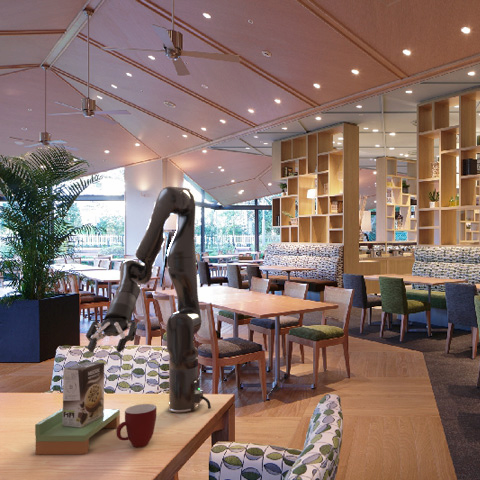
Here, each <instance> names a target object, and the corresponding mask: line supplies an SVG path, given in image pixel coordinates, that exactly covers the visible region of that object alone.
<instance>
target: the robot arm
mask: <svg viewBox="0 0 480 480" xmlns="http://www.w3.org/2000/svg"><path fill="white" fill-rule="evenodd" d="M158 193H159V194H158V195H157V198H156V200H155V204H154V207H153V209H152V213H151V216H150V219H149V223H148V226H147V228H146V231H145V233H144V235H143V237H142V239H141V241H140V243H139V245H138V246H137V248H136V250H135V253H134V255H135V257H136V259H137V260H134V259H132V258H131V259H129V258H128V259H126V260H125V261H123V263H122V264H121V267H120V269H119V283H118V286H117V290H116V292H115V294H114V296H113V298H112V299H111V301H110V304H109V306H108V308H107V311H106V313H105V315H104V320H103V321H102V322H97V321H96V320H94V321H92V322H91V324H90V326H89V329H88V330H87V332H86V334H85V337H86V339H87V340H88V341H89V342H88V345H87V350H88V351H89V353H94V351H95V349H96V346H97V344H98V342H99V341H101V340H102V339H105V338H106V337H118V336H120V339H119V341H118V344H117V346H116V352H117V353H122V352H123V351H124V349H125V347H126V344H127V343H128V342H133V341H134V339H135V337H136V334H137V330H138V324H137V322H136V321H132V322H131V319H132V317H133V313H134V311H135V309H136V305H137V301H138V298H139V297H140V293H141V289H142V288H141V286H140V285H147V283H149V282H150V281H151V279H152V278H153V277H152V276H153V270H154V265H155V262H156V260H157V258H158V255H159V254H160V252H161V250H162V249H163V246H164V243H165V226H166V223H167V221H168V220H169V218H170V216H171V215H176V231H175V233H174V236H173V238H172V240H171V242H170V244H169V247H168V249H167V254H166V257H167V258H166V259H167V260H166V261H167V271H168V276H169V279H170V282H171V283H172V286H173V288H174V291H175V293H176V299H177V311H176V312H174V313H172V314H171V315H170V316H169V317H168V319H167V322H166V327H165V329H166V330H165V335H166V337H165V338H166V350H167V353H168V358H169V359H168V411H169V412H170V413H177V414H180V413H188V412H195V411H196V410H197V409H198V408H199V407H200V405H201V404H200V403H201V402H202V401H205V403H206V404H207V409H208V410H210V409H212V407H211V402H210V400H209V399H208V398H207V397H206V396H204V390H203V389H201V378H200V377H199V350H198V347H196V346H195V342H194V335H196V334H197V333H198V332H199V331H200V329H201V327H202V321H203V320H202V313H201V308H200V302H199V301H200V300H199V295H198V294H199V293H198V275H197V270H198V269H197V254H196V236H195V235H196V232H195V231H196V230H195V225H196V196H195V194H194V192H193V191H192V190H191V189H190V188H188V187H179V186H165V187H163V188H162V189H161V190H160V192H158ZM138 260H139V261H138ZM128 329H129V330H128ZM126 330H128V333H127V335H126V334H125V331H126Z"/></svg>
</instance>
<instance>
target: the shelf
mask: <svg viewBox="0 0 480 480" xmlns="http://www.w3.org/2000/svg"><path fill="white" fill-rule="evenodd" d="M120 419H121V410H120V409H117V408H116V409H115V408H113V409H110V408H107V409H105V408H104V416H103V417H102V418H100V419H98V420H96V421H94V422H92V423H90V424H88V425H86V426H84V427H81V428H78V427H69V426H63V407H62V408H60V409H59V410H57V411H55V412H54V413H52V414H51V415H49V416H47V417H45V418H43V419H42V420H40V421H38V422H37V423H35V425H34V435H35V455H86V454H87V453H88V452H90V450H89V449H90V438H92V437H93V436H94V435H95V434H96V433H98V432H99V431H100V430H102V429H117V428H118V426H119V425H120V424H121V423H120V421H121V420H120Z"/></svg>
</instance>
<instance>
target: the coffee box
mask: <svg viewBox="0 0 480 480" xmlns="http://www.w3.org/2000/svg"><path fill="white" fill-rule="evenodd" d="M62 380H63V383H62V384H63V385H62V386H63V387H62V408H63V426H69V427H78V428H81V427H84V426H86V425H88V424H90V423H92V422H94V421H96V420H98V419H100V418H102V417H103V416H104V409H105V362H102V361H85V362H81V363H78V364H75V365H72V366H69V367H65V368H63V379H62Z"/></svg>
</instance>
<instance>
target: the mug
mask: <svg viewBox="0 0 480 480" xmlns="http://www.w3.org/2000/svg"><path fill="white" fill-rule="evenodd" d="M156 421H157V406H156V405H155V404H154V403H153V404H152V403H141V404H135V405H132V406H128V407H127V408H125V410H124V421H123V422H121V423H120V425H119V426H118V427H117V428H116V431H115V432H116V433H115V434H116V438H117V439H119V440H120V441H129V442H130V443H131V445H132V447H135V448H142V447H146V446H148V445H149V443H150V441H151V440H152V438H153V435H154V432H155V426H156ZM124 427H125V428H126V429H125V430H126V434H127V436H125V437H123V436H122V433H121V432H122V430H123V428H124Z"/></svg>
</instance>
